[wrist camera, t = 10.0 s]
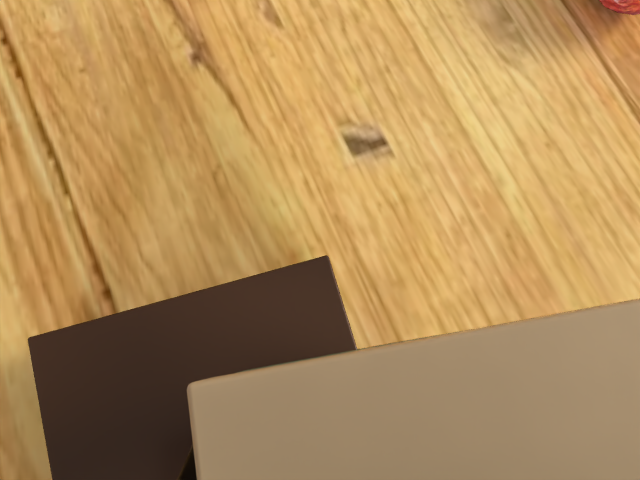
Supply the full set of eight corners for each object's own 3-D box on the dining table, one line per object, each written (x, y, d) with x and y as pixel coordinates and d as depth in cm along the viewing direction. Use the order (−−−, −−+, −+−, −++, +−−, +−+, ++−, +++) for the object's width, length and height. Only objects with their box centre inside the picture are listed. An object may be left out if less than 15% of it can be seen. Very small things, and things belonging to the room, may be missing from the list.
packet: (417, 469, 16) (894, 786, 4) (261, 504, 15) (259, 1029, 3) (391, 342, 17) (714, 285, 5) (242, 370, 16) (185, 384, 4)
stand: (398, 529, 22) (422, 559, 18) (118, 637, 20) (89, 693, 16) (319, 269, 24) (328, 254, 21) (62, 341, 22) (26, 337, 19)
